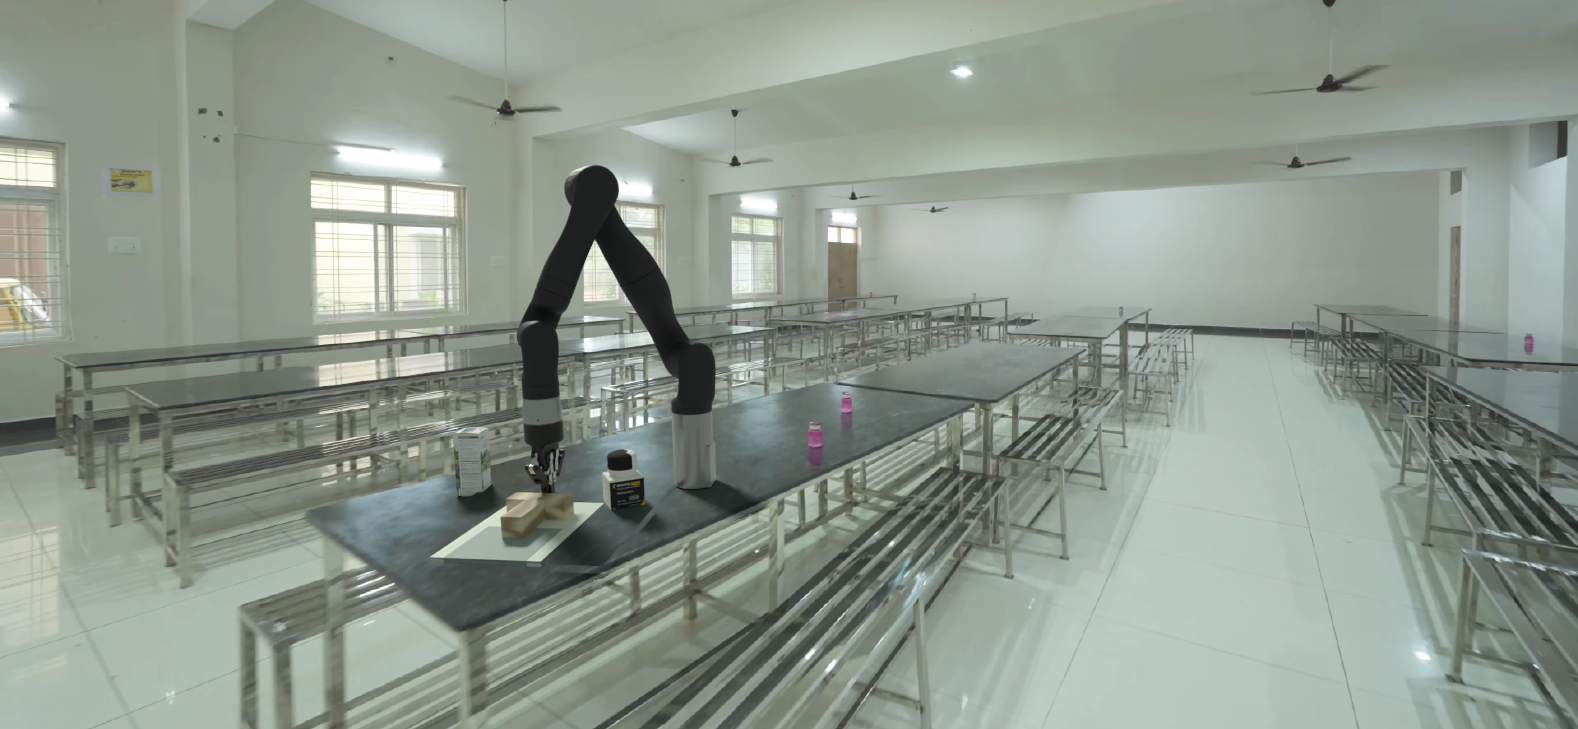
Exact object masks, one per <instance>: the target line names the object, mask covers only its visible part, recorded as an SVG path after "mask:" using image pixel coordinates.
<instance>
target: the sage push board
mask: <svg viewBox="0 0 1578 729" xmlns="http://www.w3.org/2000/svg"><path fill="white" fill-rule="evenodd" d="M573 503H574V513H573V514H572V515H571V516H570V517H569V518H568V519H566V520H545V521H544V522H542V523H541V524H540V525H539V526H537V527H536V528H535V529H534V530H532V531H531V532H530V533H529V534H527V535H526V536H525V537H523V538H503V537H502V532H501V519H500V517H501V516H502V515H504V514H505V513H506V512H507V507H506V505H505V506H503V507H501V508H500V509H499V510H497V511H495V513H493V514H491V515H490V516H488V517H487V518H485V519H484V520H482V521H481V522H480V523H478V524H477V525H475V526H473V527H472V528H471V529H469V530H468V531H466V532H464V533H463V534H461V535H460V536H459V537H457V538H456V539H455V540H453V541H451V542H450V543H449V544H447V545H446V546H444V547H443V548H441V549H440V550H438V551H437V552H435V553H434V554H432V555H431V556H430V558H429V563H433V564H453V565H455V564H456V565H475V566H476V565H478V566H481V565H483V566H501V565H502V566H504V567H505V566H506V567H528V568H531V567H533V568H541V567H543V566H544V565H545V564H546V563H544V562H543V563H542V561H543V560H545V558H546V557H547V556H549V555H550V554H551V553H552V552H553V551H554V550H555V549H556V548H557V547H559V545H561V544H562V543H563V542H564V541H565V540H566V539H567V538H568V537H569V536H571V535H572V533H574V532H575V531H576V530H578V528H579V527H581V525H583V523H584V522H586V521H587V520H588V519H589V518H590V517H591V516H592V515H593V514H594V513H595V512H596V511H597V510H599V509H600V508H601V507H602V506H603V505H604V504H605V502H583V501H582V502H581V501H579V502H578V501H577V502H576V501H575V502H574V501H573ZM502 566H501V567H502Z"/></svg>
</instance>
